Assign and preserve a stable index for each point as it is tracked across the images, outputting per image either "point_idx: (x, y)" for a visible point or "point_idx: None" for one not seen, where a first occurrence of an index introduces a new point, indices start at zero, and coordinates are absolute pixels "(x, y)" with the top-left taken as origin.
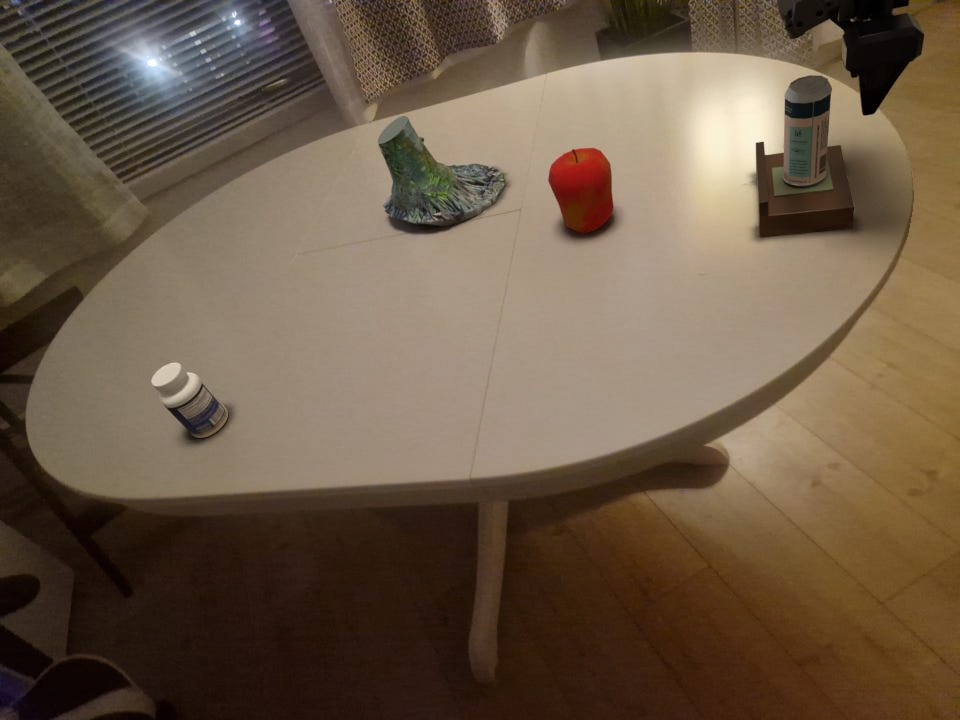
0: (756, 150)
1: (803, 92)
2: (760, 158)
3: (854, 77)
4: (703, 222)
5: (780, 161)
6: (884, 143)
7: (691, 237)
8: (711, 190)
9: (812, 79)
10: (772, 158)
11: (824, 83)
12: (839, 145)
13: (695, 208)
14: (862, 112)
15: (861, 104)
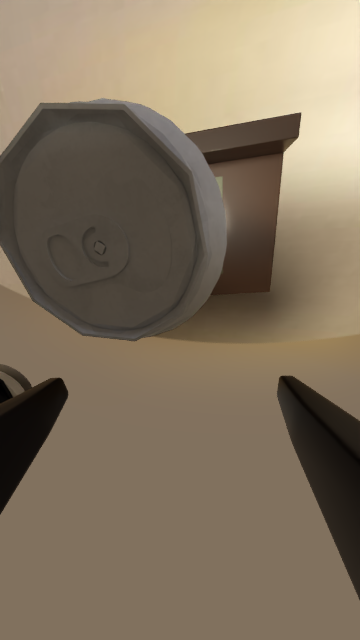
0: (259, 120)
1: (3, 222)
2: (219, 138)
3: (279, 381)
4: (130, 53)
5: (247, 193)
6: (295, 333)
7: (83, 33)
8: (241, 45)
9: (159, 270)
10: (263, 174)
11: (104, 324)
12: (268, 290)
13: (178, 14)
14: (43, 382)
15: (14, 397)
